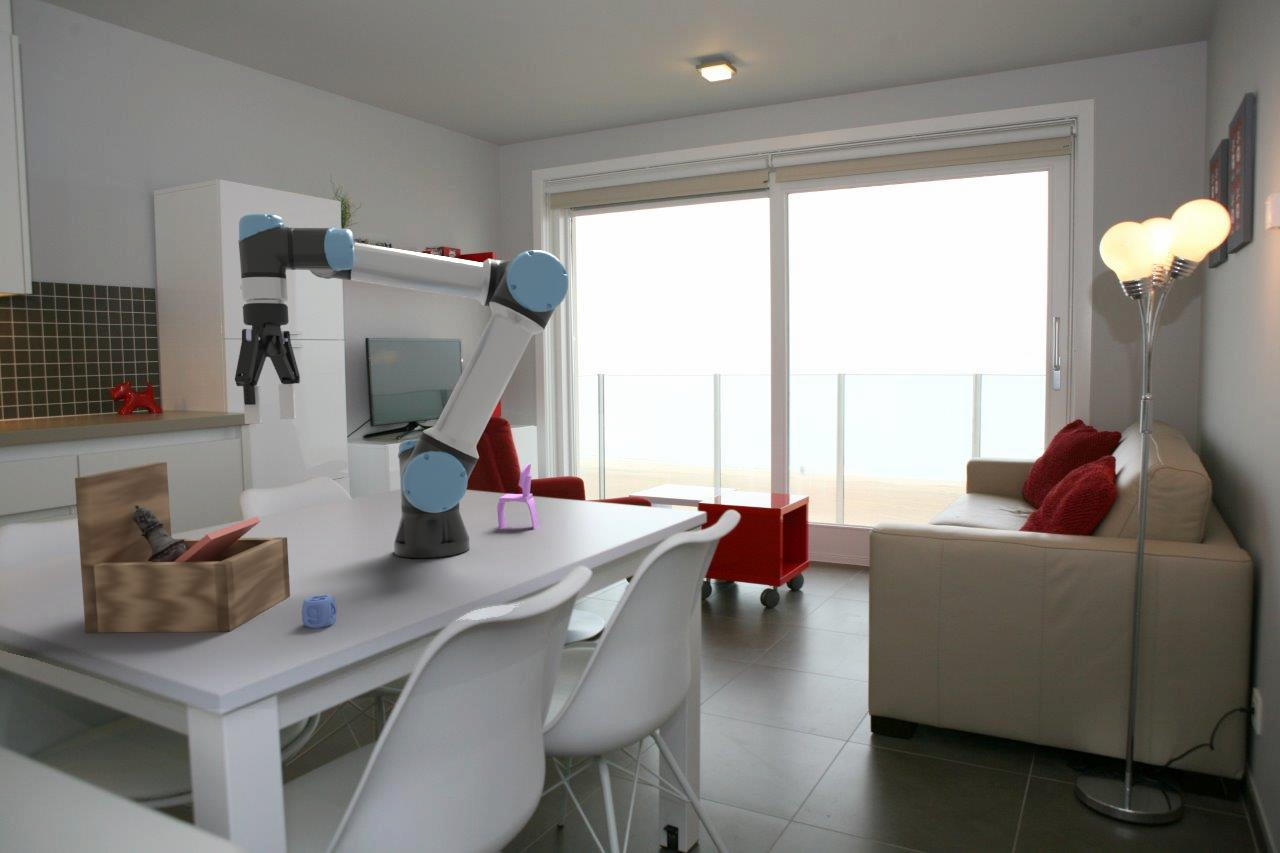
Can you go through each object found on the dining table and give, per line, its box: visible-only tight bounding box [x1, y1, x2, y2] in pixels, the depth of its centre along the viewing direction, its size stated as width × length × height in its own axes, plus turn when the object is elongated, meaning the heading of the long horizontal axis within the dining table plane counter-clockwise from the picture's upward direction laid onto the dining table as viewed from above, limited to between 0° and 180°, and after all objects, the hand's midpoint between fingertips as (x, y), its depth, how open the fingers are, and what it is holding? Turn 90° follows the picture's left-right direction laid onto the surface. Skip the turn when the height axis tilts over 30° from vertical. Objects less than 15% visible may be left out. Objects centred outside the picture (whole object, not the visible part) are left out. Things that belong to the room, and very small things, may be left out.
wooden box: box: [74, 461, 291, 633], centre depth 143 cm, size 22×20×23 cm
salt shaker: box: [133, 505, 186, 562], centre depth 144 cm, size 6×6×12 cm
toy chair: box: [496, 462, 541, 531], centre depth 213 cm, size 8×9×15 cm
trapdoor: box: [174, 516, 261, 562], centre depth 143 cm, size 14×15×1 cm
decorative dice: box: [301, 594, 337, 629], centre depth 136 cm, size 4×4×4 cm
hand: (271, 421), depth 165 cm, fingers open, 13 cm apart
